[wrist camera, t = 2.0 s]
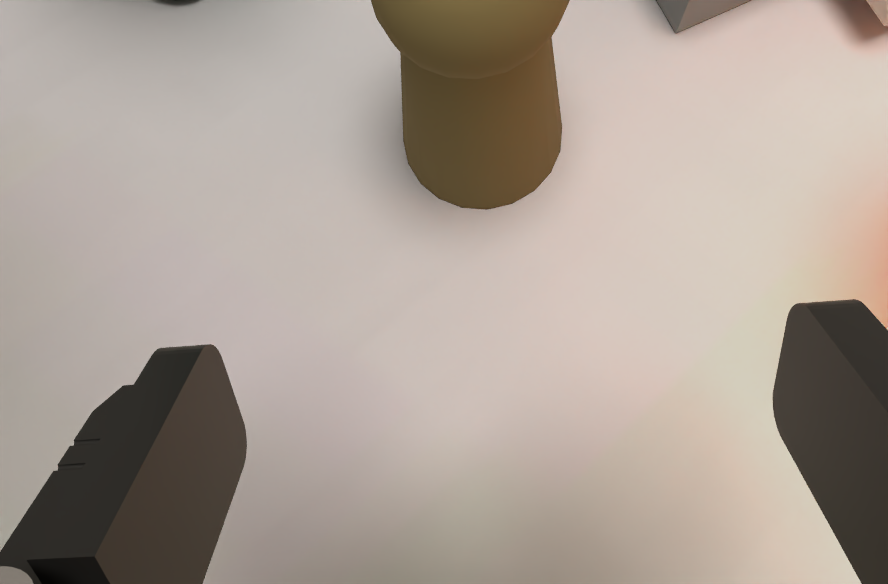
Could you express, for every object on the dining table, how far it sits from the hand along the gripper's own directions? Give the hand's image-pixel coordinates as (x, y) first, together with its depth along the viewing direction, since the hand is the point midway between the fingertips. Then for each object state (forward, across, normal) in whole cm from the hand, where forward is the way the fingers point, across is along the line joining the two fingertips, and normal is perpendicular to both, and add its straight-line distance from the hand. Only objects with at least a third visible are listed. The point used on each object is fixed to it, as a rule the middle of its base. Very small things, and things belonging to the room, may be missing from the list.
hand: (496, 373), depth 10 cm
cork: (+18, 0, +3) cm, 18 cm away
